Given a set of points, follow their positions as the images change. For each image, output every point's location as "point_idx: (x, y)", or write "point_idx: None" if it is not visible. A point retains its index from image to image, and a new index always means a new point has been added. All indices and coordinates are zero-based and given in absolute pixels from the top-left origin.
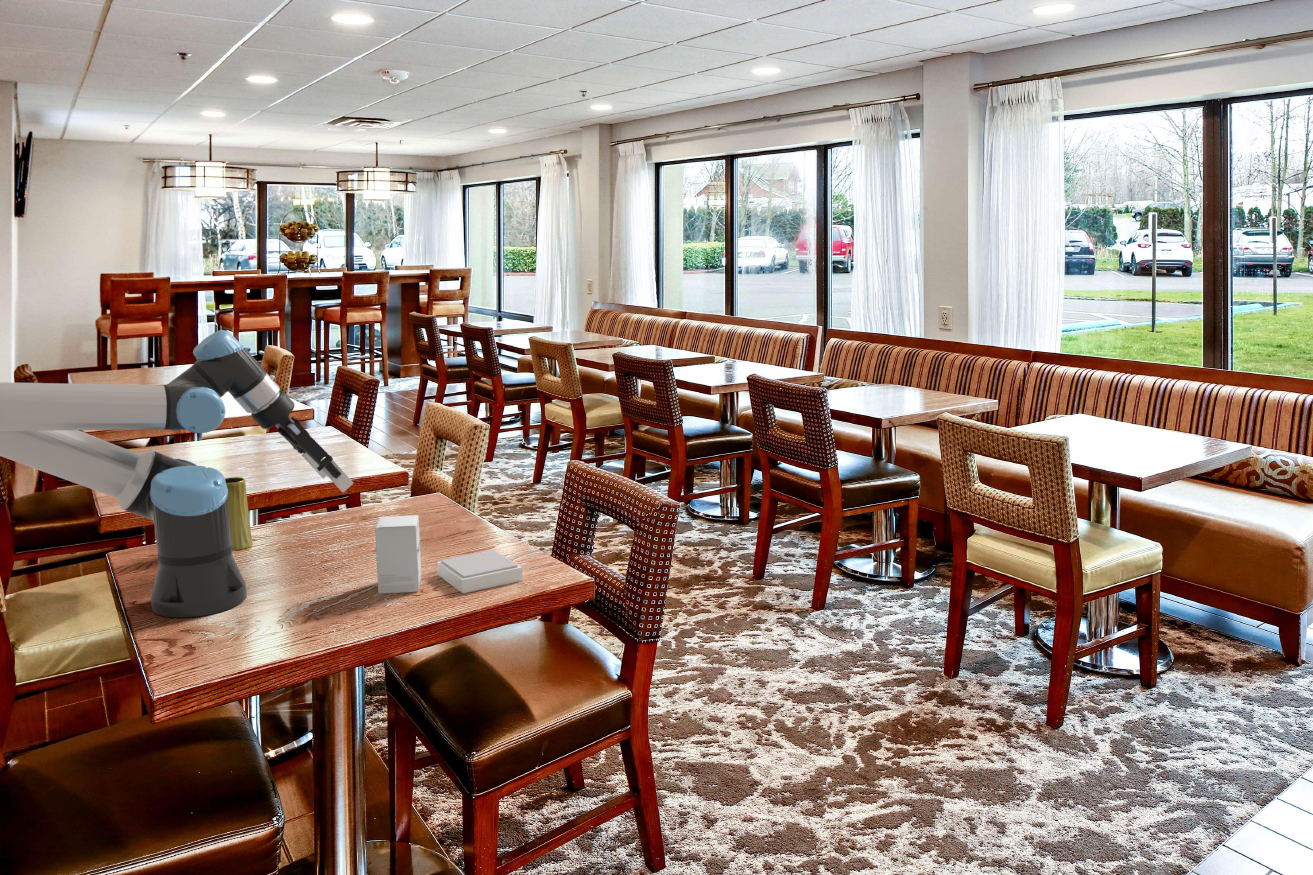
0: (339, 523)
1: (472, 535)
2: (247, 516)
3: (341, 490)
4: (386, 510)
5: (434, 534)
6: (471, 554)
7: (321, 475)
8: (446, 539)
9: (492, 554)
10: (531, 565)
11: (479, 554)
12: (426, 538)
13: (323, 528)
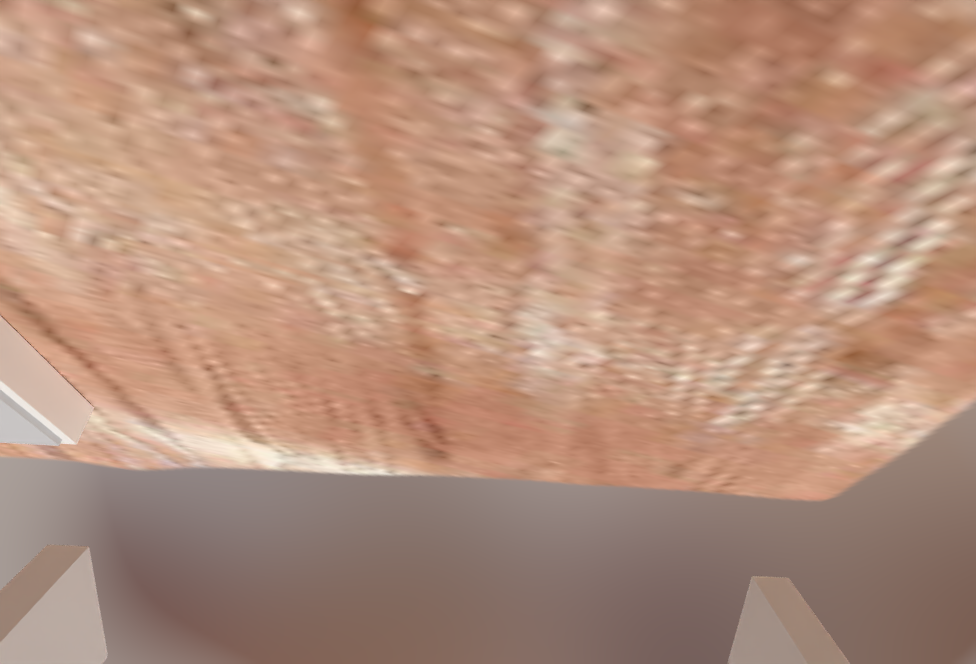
0: (925, 286)
1: (394, 447)
2: None
3: (28, 566)
4: (857, 415)
5: (472, 409)
6: (12, 410)
7: (769, 610)
8: (397, 411)
9: (7, 434)
10: None
11: (9, 420)
12: (445, 389)
13: (952, 217)
